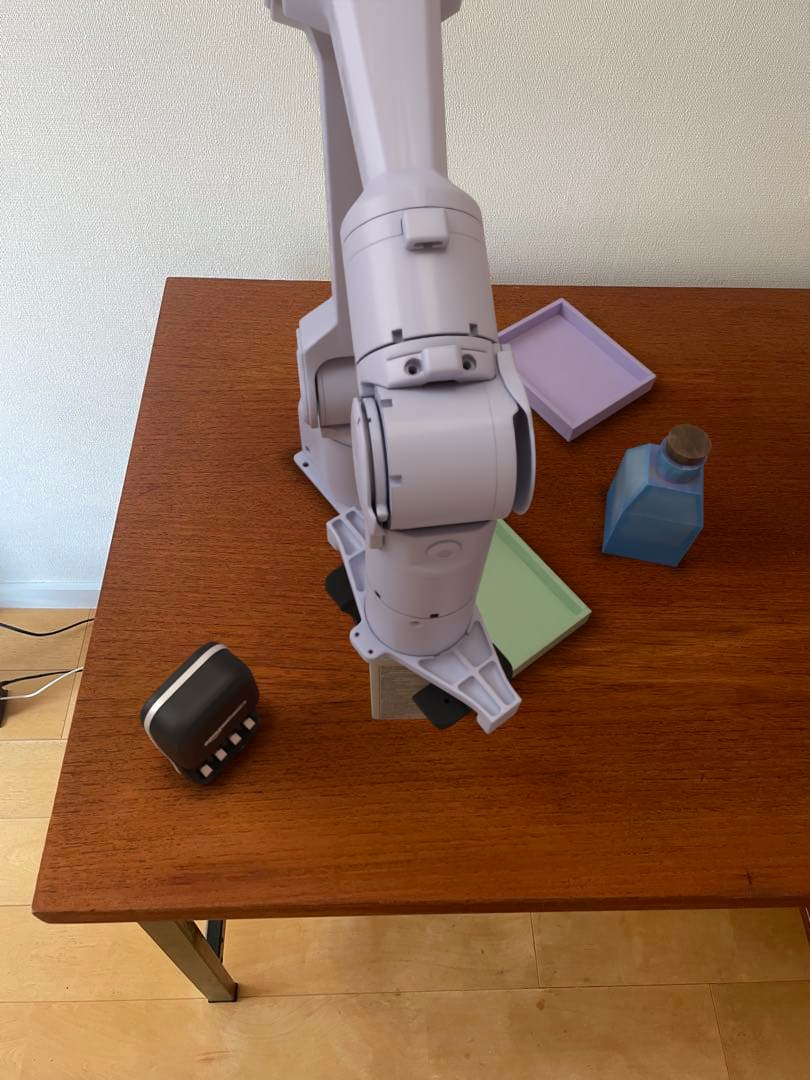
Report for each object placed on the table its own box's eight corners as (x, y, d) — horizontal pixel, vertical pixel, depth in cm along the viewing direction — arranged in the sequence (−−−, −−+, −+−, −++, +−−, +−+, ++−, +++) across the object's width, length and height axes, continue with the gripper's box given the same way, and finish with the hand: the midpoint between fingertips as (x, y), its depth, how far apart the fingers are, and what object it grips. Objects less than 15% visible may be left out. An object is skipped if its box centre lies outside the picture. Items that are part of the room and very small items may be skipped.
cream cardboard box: (445, 657, 54) (460, 588, 46) (448, 719, 52) (465, 659, 43) (368, 656, 54) (369, 587, 45) (368, 720, 52) (369, 660, 43)
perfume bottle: (676, 566, 67) (733, 482, 56) (602, 552, 67) (645, 466, 57) (677, 506, 70) (731, 417, 60) (607, 493, 70) (648, 401, 60)
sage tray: (353, 567, 65) (352, 555, 64) (465, 496, 69) (467, 483, 68) (471, 709, 59) (474, 700, 58) (586, 621, 64) (592, 611, 62)
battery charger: (208, 802, 55) (174, 754, 45) (169, 768, 56) (128, 713, 46) (277, 725, 58) (260, 664, 48) (239, 694, 59) (214, 628, 49)
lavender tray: (476, 357, 78) (479, 342, 76) (558, 311, 82) (562, 297, 80) (568, 442, 73) (573, 429, 71) (650, 389, 77) (657, 375, 75)
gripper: (272, 505, 40) (293, 621, 52) (454, 731, 35) (431, 804, 46) (384, 441, 43) (380, 565, 54) (571, 642, 37) (522, 732, 49)
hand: (409, 671), depth 50 cm, fingers closed on cream cardboard box, 6 cm apart
